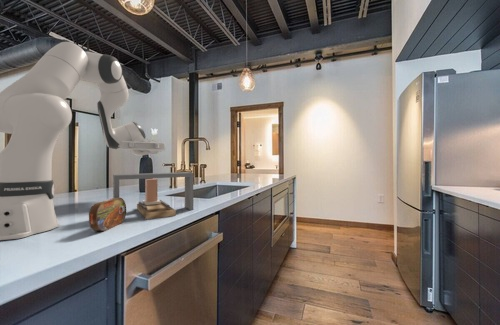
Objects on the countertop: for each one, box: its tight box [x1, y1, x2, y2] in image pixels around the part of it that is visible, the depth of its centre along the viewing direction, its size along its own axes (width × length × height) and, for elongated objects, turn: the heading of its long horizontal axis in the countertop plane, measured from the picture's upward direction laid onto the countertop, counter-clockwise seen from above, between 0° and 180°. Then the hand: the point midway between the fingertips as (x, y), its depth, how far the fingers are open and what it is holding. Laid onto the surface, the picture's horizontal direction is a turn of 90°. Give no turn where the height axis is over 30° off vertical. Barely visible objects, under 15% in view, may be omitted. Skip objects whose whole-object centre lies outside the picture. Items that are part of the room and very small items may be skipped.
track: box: [136, 199, 177, 220], centre depth 93 cm, size 10×22×3 cm, turn 33°
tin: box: [88, 197, 127, 232], centre depth 72 cm, size 15×3×8 cm, turn 179°
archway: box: [112, 171, 194, 211], centre depth 92 cm, size 28×6×15 cm, turn 123°
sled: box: [141, 178, 161, 205], centre depth 99 cm, size 6×7×10 cm
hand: (145, 145), depth 109 cm, fingers open, 8 cm apart
